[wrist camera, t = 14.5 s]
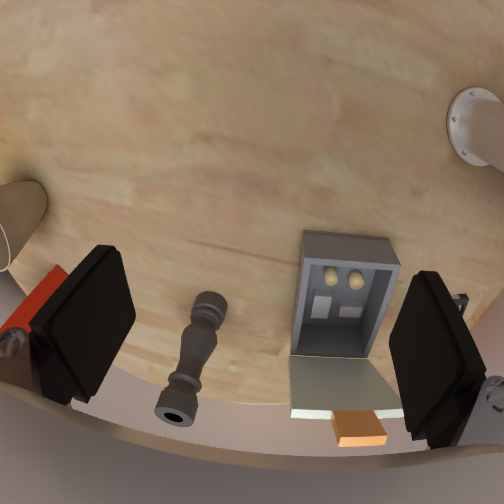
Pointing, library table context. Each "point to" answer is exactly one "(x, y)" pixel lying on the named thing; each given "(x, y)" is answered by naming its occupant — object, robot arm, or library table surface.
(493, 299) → the library table surface
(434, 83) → the library table surface
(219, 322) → the candle holder
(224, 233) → the library table surface
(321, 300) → the tub
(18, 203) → the plant pot
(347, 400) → the lid
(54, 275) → the file binder
